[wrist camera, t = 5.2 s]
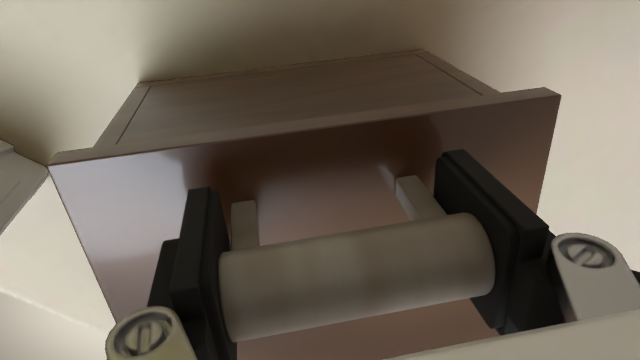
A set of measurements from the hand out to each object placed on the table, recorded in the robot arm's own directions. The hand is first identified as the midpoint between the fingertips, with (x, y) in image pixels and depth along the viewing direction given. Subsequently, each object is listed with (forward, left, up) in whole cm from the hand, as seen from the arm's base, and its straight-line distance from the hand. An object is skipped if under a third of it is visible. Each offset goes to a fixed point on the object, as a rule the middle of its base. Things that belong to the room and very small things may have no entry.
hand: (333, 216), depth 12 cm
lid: (+6, 0, -2) cm, 6 cm away
